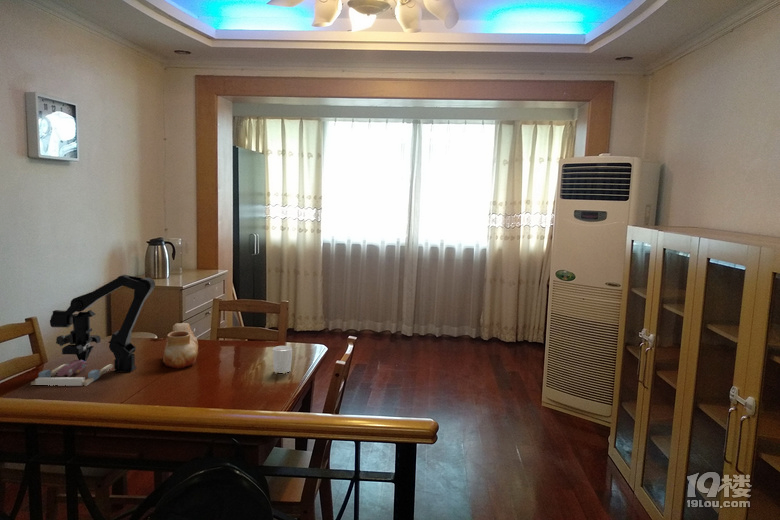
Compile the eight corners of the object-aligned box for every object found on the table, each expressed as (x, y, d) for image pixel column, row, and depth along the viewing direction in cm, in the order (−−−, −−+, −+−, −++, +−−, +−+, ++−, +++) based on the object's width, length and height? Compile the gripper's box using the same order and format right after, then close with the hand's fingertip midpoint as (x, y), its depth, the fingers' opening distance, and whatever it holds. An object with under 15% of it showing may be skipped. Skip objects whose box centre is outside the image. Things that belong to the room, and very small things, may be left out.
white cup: (295, 370, 213) (295, 347, 212) (284, 375, 206) (284, 351, 205) (280, 367, 216) (280, 344, 215) (268, 372, 209) (268, 349, 208)
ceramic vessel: (199, 351, 237) (199, 319, 235) (197, 368, 212) (197, 333, 211) (166, 353, 232) (166, 321, 231) (161, 370, 208) (160, 334, 206)
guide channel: (113, 367, 209) (113, 360, 209) (87, 385, 187) (87, 377, 187) (62, 367, 207) (62, 359, 207) (30, 385, 185) (29, 377, 185)
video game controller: (62, 382, 194) (68, 368, 192) (54, 375, 195) (60, 361, 193) (84, 374, 203) (91, 361, 202) (77, 367, 204) (83, 354, 202)
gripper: (72, 321, 210) (73, 358, 212) (46, 332, 192) (48, 372, 194) (100, 322, 211) (101, 358, 213) (77, 333, 193) (78, 373, 195)
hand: (82, 365), depth 204 cm, fingers closed
